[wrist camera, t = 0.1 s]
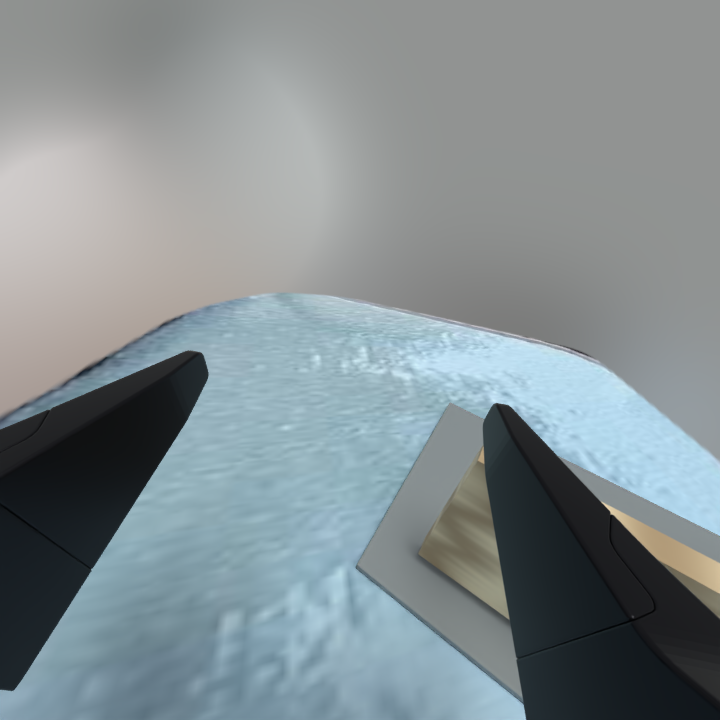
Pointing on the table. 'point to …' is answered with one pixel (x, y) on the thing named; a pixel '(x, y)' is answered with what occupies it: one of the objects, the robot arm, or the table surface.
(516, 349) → the table surface
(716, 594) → the folding fence panel
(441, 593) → the board
